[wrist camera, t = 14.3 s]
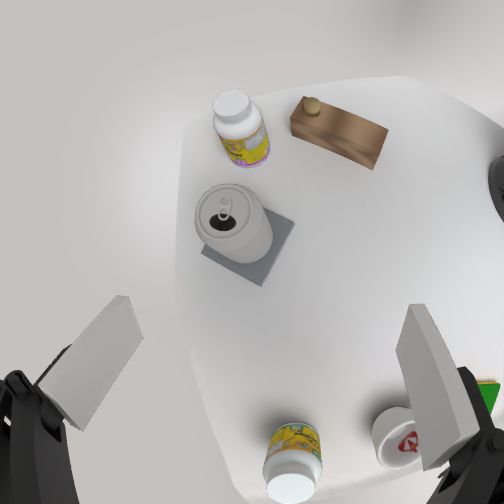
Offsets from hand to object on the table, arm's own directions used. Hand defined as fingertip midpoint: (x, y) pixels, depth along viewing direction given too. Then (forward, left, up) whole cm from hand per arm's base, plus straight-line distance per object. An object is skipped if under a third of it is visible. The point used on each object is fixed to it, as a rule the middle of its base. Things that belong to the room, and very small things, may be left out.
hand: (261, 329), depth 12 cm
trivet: (+10, -6, -26) cm, 28 cm away
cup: (-23, +7, -26) cm, 35 cm away
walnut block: (+5, -27, -26) cm, 38 cm away
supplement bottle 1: (+17, -19, -26) cm, 37 cm away
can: (+10, -6, -25) cm, 28 cm away
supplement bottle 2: (-11, +17, -26) cm, 33 cm away
